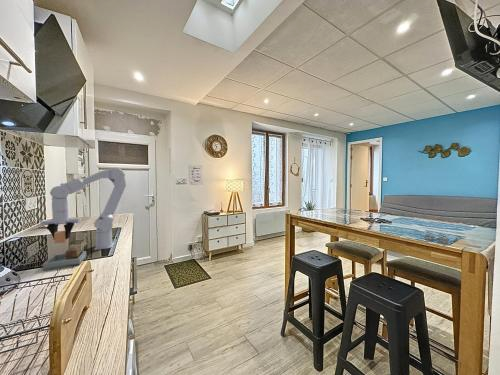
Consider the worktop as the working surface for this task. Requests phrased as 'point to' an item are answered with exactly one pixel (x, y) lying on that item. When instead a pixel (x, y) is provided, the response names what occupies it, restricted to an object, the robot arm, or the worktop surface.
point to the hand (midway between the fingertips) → (61, 238)
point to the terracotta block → (60, 237)
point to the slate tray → (63, 261)
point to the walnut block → (73, 253)
